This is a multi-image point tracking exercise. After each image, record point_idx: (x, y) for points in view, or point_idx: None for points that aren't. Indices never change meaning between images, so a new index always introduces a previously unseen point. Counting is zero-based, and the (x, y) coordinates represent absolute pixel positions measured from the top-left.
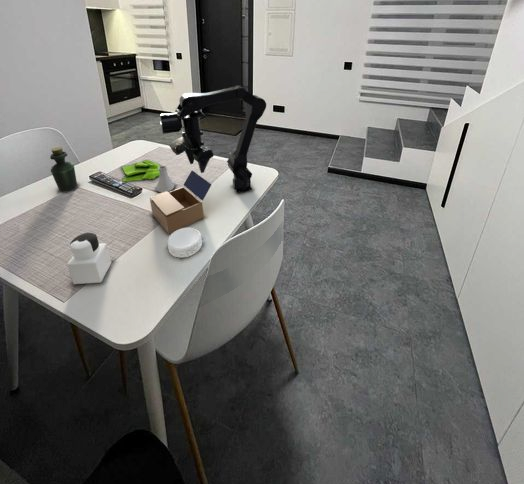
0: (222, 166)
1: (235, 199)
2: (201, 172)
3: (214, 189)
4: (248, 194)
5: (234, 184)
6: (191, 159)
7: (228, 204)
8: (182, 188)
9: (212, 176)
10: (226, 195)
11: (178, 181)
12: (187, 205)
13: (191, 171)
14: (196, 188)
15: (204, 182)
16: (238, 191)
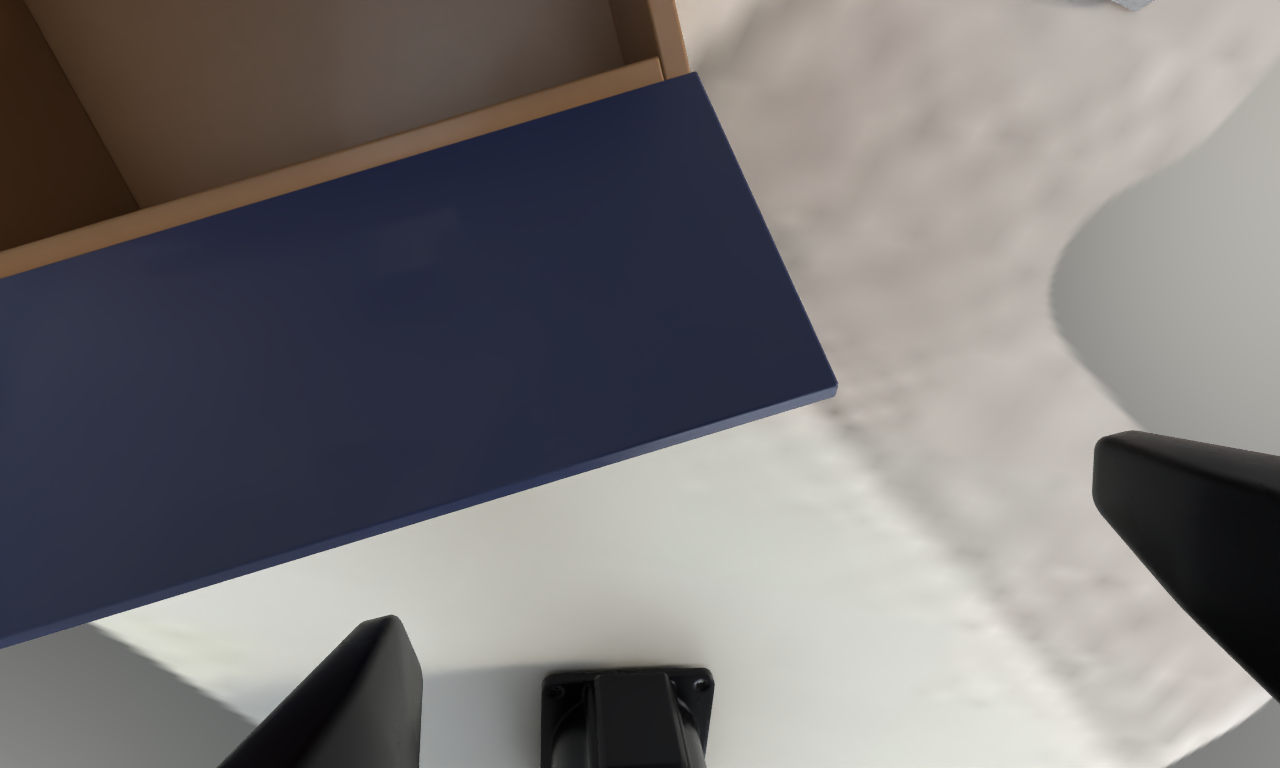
0: (1158, 653)
1: (435, 631)
2: (352, 639)
3: (741, 483)
4: (481, 751)
5: (604, 730)
6: (1233, 559)
7: (361, 551)
8: (650, 39)
9: (1029, 521)
10: (554, 570)
11: (1201, 96)
12: (487, 79)
13: (809, 360)
14: (248, 299)
15: (95, 548)
16: (558, 693)
